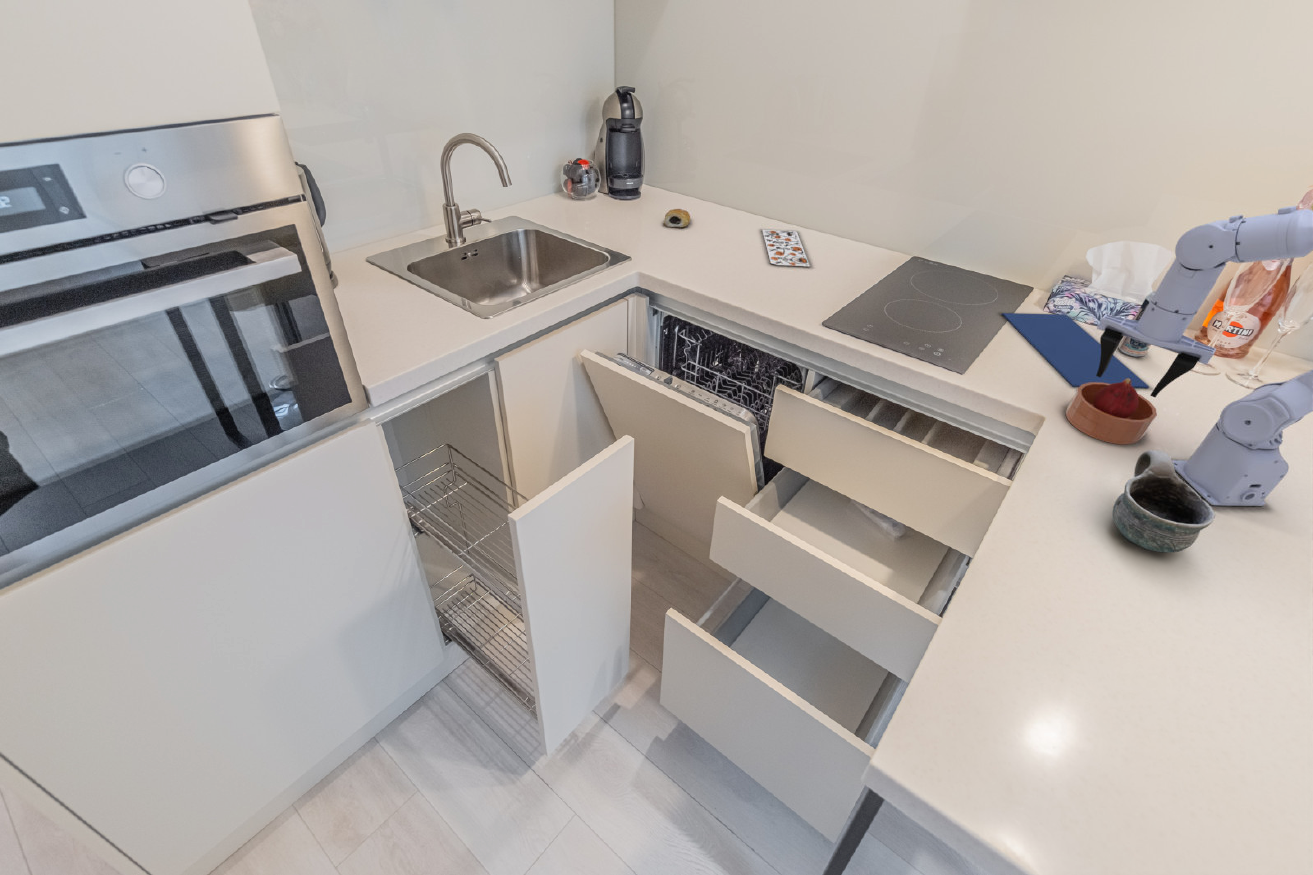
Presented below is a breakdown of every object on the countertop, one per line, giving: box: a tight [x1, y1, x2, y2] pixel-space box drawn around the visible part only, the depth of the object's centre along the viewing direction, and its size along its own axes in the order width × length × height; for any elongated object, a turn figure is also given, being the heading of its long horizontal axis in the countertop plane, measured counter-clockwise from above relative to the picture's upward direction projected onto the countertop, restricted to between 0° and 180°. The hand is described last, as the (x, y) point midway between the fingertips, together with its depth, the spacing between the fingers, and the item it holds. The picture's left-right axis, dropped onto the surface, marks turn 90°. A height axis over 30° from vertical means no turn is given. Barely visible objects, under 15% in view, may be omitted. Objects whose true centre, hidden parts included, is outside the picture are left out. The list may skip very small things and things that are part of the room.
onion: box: [1094, 378, 1139, 419], centre depth 100 cm, size 6×6×8 cm
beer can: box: [1117, 291, 1156, 358], centre depth 119 cm, size 5×5×12 cm
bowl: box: [1065, 382, 1158, 445], centre depth 102 cm, size 11×11×4 cm
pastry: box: [663, 208, 691, 228], centre depth 171 cm, size 9×7×4 cm
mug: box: [1111, 449, 1216, 553], centre depth 81 cm, size 10×12×10 cm
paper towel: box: [761, 229, 811, 267], centre depth 160 cm, size 24×1×9 cm
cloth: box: [1002, 312, 1150, 389], centre depth 123 cm, size 28×14×1 cm, turn 1°
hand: (1126, 384), depth 98 cm, fingers open, 7 cm apart
